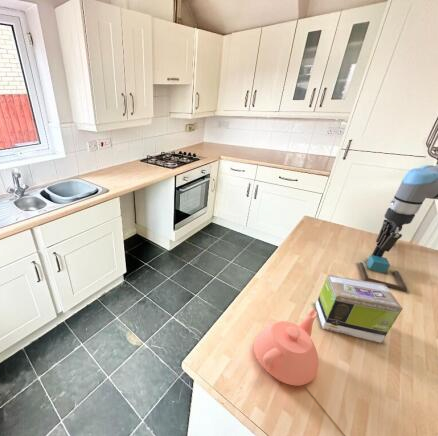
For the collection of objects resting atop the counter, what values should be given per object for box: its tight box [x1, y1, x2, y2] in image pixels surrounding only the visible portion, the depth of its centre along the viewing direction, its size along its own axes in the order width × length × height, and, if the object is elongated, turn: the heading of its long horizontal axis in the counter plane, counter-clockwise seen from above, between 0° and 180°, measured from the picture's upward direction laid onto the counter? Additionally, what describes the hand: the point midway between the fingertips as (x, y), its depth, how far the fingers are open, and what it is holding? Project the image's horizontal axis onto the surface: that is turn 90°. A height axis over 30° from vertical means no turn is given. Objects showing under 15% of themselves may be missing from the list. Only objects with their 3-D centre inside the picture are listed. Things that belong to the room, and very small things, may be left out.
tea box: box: [315, 274, 403, 343], centre depth 73 cm, size 15×10×15 cm, turn 70°
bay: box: [358, 261, 408, 293], centre depth 94 cm, size 11×12×2 cm
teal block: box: [366, 254, 391, 274], centre depth 98 cm, size 5×5×5 cm
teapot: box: [253, 309, 319, 386], centre depth 64 cm, size 22×15×12 cm
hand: (374, 260), depth 101 cm, fingers closed
